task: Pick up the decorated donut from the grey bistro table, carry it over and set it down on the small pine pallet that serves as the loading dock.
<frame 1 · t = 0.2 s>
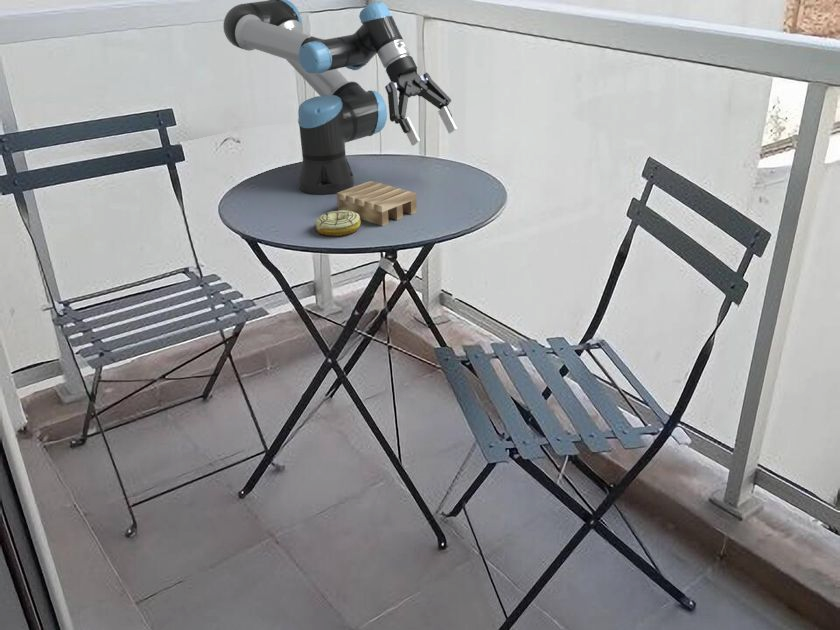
hand: (435, 137, 208), 15 cm above the table, tool tilted 35°, fingers open, 13 cm apart
pallet: (377, 212, 205), on the table
decorated donut: (338, 231, 195), on the table
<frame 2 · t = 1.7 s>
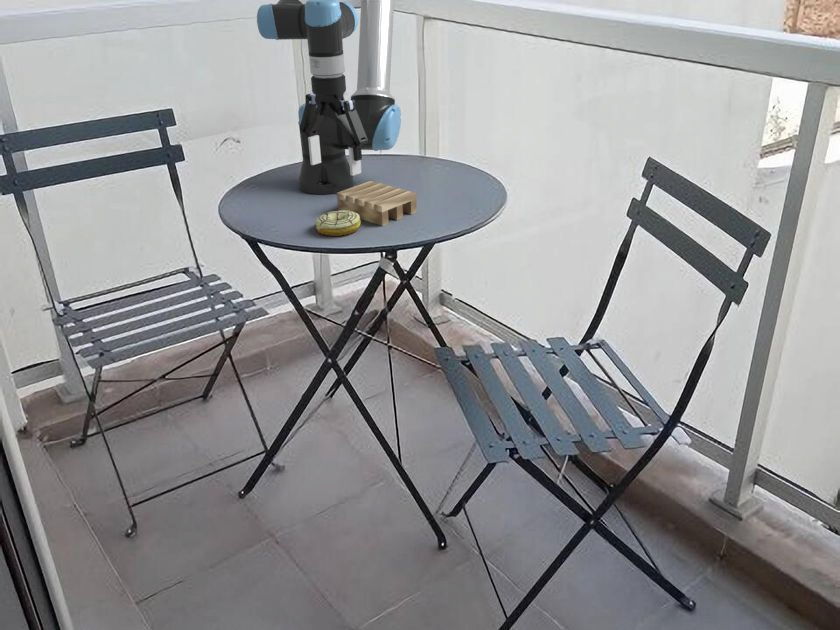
hand: (335, 168, 188), 15 cm above the table, tool pointing down, fingers open, 13 cm apart
nothing on the table moved.
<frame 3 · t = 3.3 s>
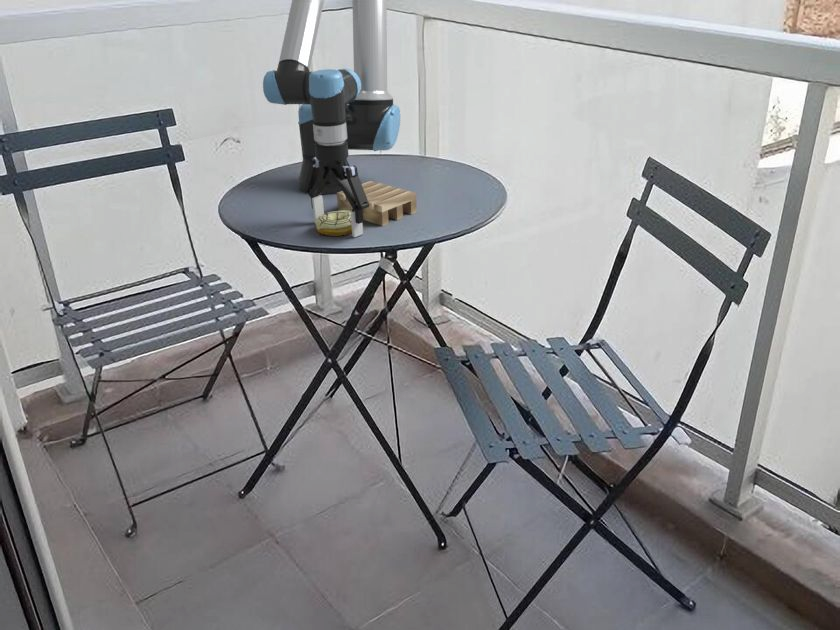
hand: (338, 229, 195), 0 cm above the table, tool pointing down, fingers open, 13 cm apart
nothing on the table moved.
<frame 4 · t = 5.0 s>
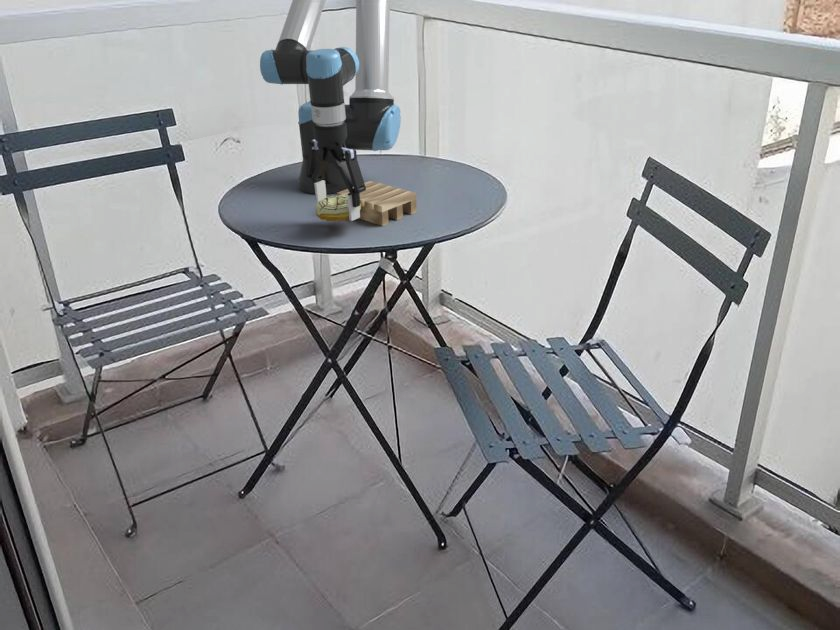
hand: (338, 213, 194), 4 cm above the table, tool pointing down, fingers closed on decorated donut, 11 cm apart
decorated donut: (338, 215, 194), point 3 cm above the table, touching gripper
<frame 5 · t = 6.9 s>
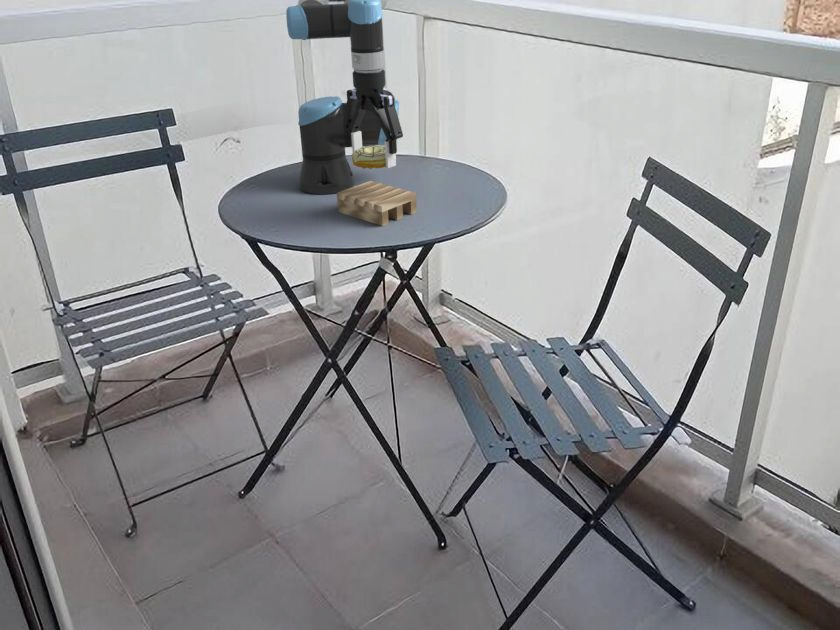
hand: (374, 162, 199), 13 cm above the table, tool pointing down, fingers closed on decorated donut, 11 cm apart
decorated donut: (374, 164, 199), point 12 cm above the table, touching gripper
when the fingers open (6 cm above the table, at t = 9.0 s): decorated donut stays where it is, resting on pallet.
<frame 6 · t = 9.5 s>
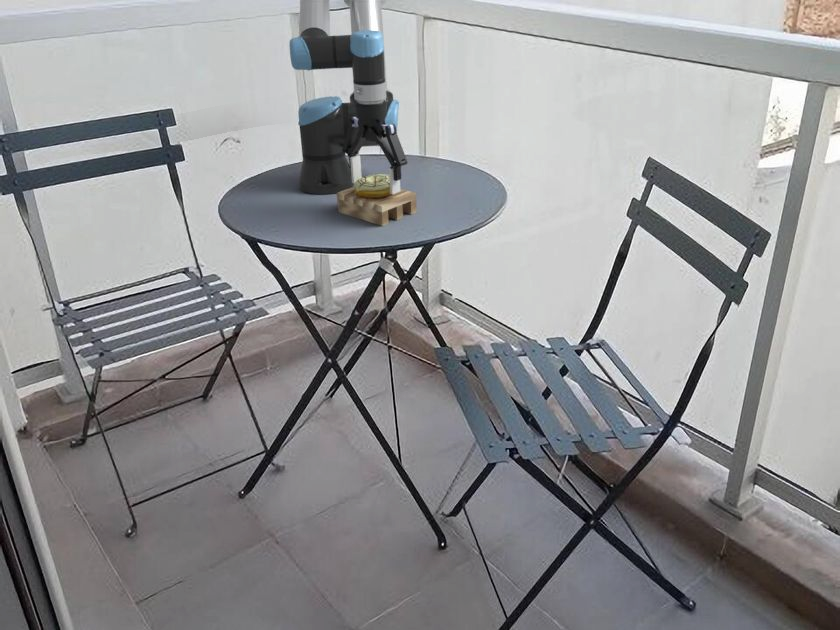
hand: (375, 187, 202), 7 cm above the table, tool pointing down, fingers open, 13 cm apart
decorated donut: (376, 193, 202), point 5 cm above the table, touching pallet
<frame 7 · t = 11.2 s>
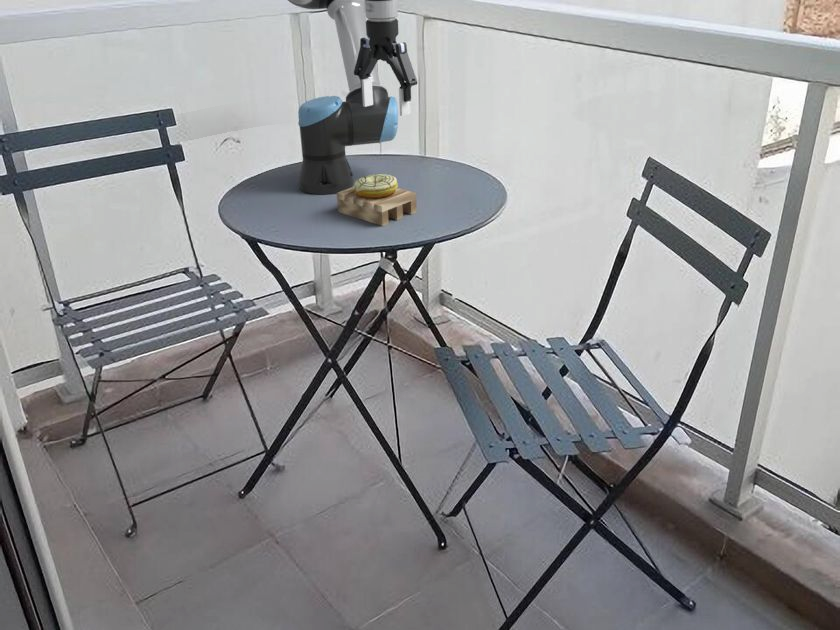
hand: (386, 110, 199), 24 cm above the table, tool pointing down, fingers open, 13 cm apart
nothing on the table moved.
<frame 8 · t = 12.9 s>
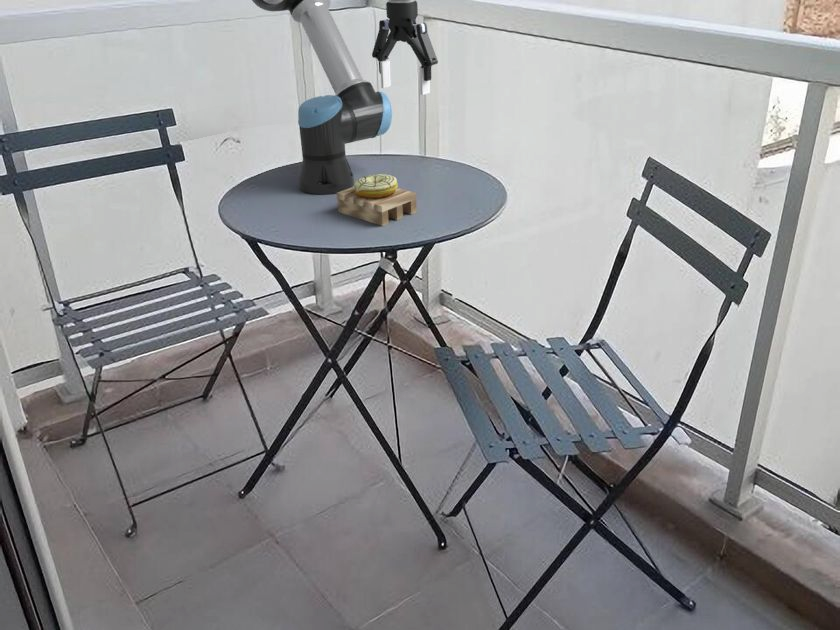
hand: (405, 90, 205), 27 cm above the table, tool pointing down, fingers open, 13 cm apart
nothing on the table moved.
at the end: decorated donut inside the target area on the pallet (0.0 cm from its centre), point 4.8 cm above the pallet's base; the gripper is holding nothing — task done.
